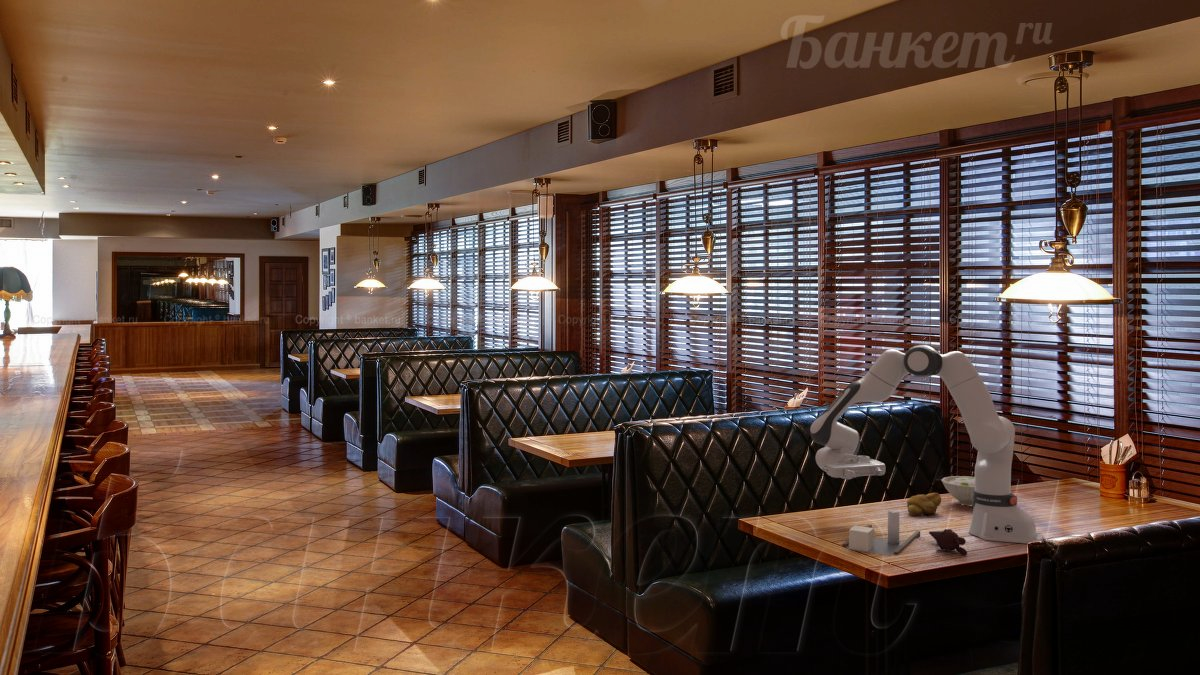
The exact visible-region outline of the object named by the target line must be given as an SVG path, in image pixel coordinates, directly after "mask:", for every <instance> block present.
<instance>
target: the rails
mask: <svg viewBox="0 0 1200 675" xmlns="http://www.w3.org/2000/svg"><path fill="white" fill-rule="evenodd" d="M864 527H869V528H873V524H868V523H867V525H865V526H864ZM919 537H920V538H921V531H920V530H916V531H914V533H912V534H911V535H910V536H909V537H908V538H907V539H906V540H905V541H903V542H904V543H903V544H901V545H900V546H899V547H898V548H897V549H896V550H895V551H894V553H893V555H897V556H898V555H899V554H901V552H903V551H904V550H905V549H906V548H907V547H908V546H909V545H910V544H911V543H912V542H914V540H915V539H918V538H919ZM920 538H919V539H920ZM848 546H849V538H848V539H847V540H845V541H844V542H843V543H842V544H841V547H843V548H847V547H848Z"/></svg>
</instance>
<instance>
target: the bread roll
mask: <svg viewBox="0 0 1200 675" xmlns="http://www.w3.org/2000/svg"><path fill="white" fill-rule="evenodd" d="M941 502H942V498H941V495H940V494H939V493H938V492H932V493H931V492H930V493H927V494H916V495H912V496H910V497H909V498H908V499H907V501H906V503H907V504H906V507H907V512H908V514H909V515H912V516H917V515H920V516H923V515H924V514H931V515H933V513H934V514H936V513H937V510H938V506H940V505H941Z"/></svg>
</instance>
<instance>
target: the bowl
mask: <svg viewBox="0 0 1200 675" xmlns="http://www.w3.org/2000/svg"><path fill="white" fill-rule="evenodd" d="M941 482H942V484H943V486H944V489H946V490H947V492H948V493H949V494H950V495H951V496H952V497H953V498H954V499H956V500H957V501H958V503H960V504H963V505H973V491H974V490H975V476H968V475H967V476H966V475H962V476H960V475H955V476H954V475H953V476H947V477H946V476H945V477H943V478H942V479H941Z"/></svg>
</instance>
